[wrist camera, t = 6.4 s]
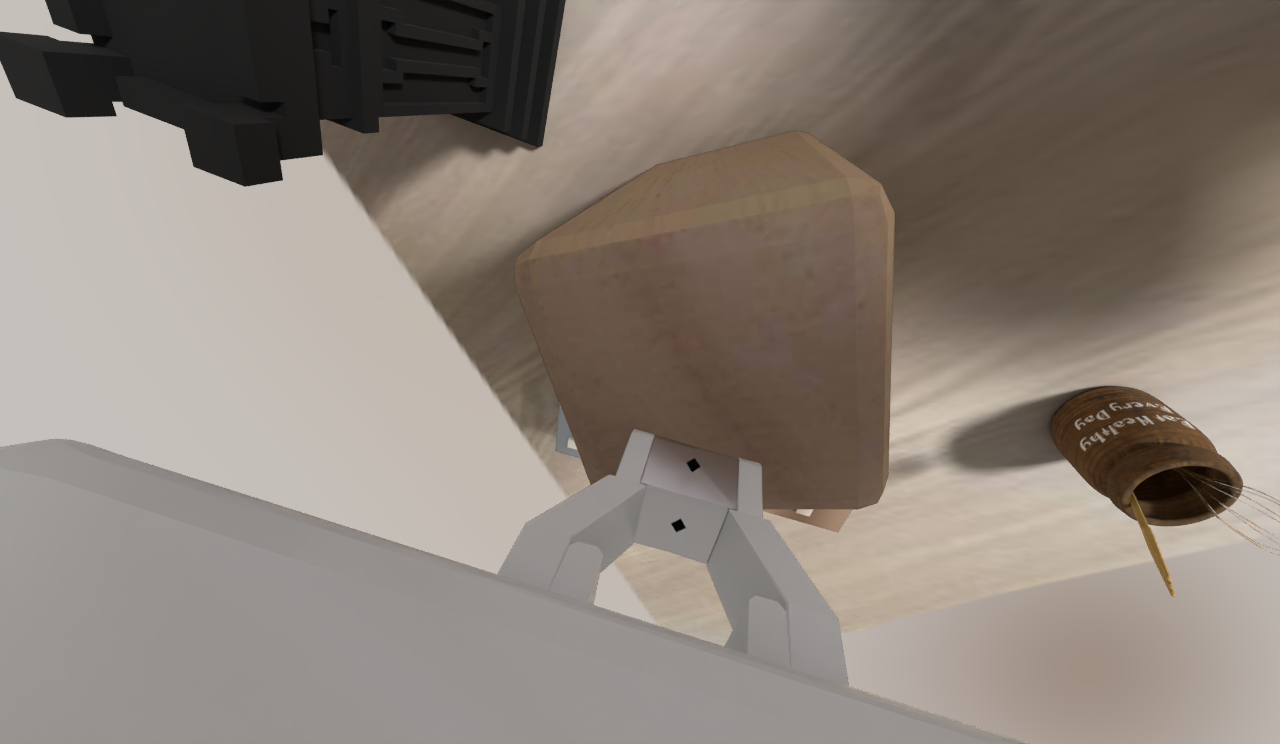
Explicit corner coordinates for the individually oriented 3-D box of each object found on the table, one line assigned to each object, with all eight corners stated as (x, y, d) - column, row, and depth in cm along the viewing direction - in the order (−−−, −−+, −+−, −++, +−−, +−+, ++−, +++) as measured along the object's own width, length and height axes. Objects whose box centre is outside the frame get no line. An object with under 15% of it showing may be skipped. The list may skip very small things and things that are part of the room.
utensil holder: (1166, 436, 30) (1369, 604, 20) (1052, 464, 33) (1179, 624, 23) (1149, 368, 28) (1364, 516, 18) (1029, 404, 31) (1158, 549, 21)
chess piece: (434, -55, 25) (-189, -351, 9) (566, -7, 25) (185, -215, 8) (430, 103, 30) (10, 108, 13) (542, 145, 30) (260, 205, 13)
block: (676, 310, 33) (592, 521, 17) (645, 166, 29) (488, 258, 12) (820, 290, 30) (895, 523, 14) (811, 125, 26) (908, 172, 9)
